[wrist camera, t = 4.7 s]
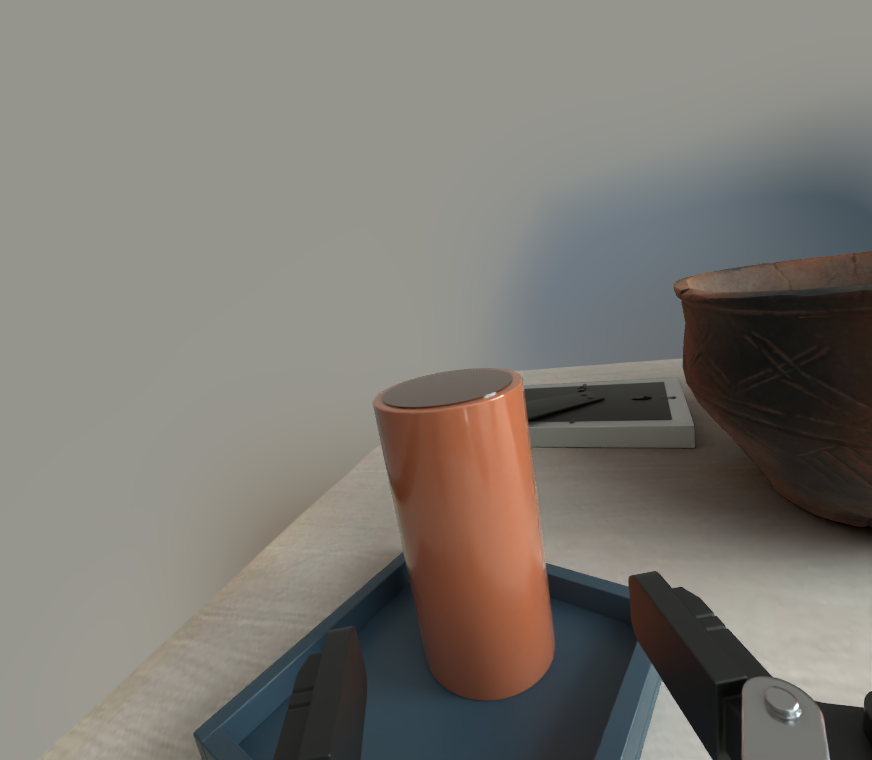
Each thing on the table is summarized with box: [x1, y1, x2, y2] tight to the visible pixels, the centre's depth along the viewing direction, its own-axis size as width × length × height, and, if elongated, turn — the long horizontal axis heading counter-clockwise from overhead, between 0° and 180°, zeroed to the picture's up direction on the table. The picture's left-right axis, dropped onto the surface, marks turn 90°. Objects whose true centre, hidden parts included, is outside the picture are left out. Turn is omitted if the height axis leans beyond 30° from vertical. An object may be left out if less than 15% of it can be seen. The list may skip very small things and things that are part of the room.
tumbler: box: [373, 368, 556, 701], centre depth 20 cm, size 6×6×13 cm
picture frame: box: [524, 377, 695, 448], centre depth 50 cm, size 16×3×21 cm
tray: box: [194, 553, 662, 760], centre depth 19 cm, size 15×16×2 cm
